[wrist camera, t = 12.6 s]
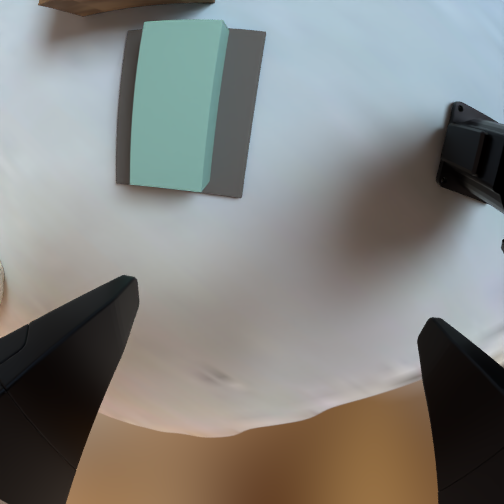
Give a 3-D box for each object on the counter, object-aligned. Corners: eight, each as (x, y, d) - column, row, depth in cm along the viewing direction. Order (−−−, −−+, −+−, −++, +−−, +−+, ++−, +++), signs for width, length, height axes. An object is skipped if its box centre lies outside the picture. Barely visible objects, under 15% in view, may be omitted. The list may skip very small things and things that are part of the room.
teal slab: (229, 30, 14) (222, 20, 12) (209, 181, 19) (201, 192, 17) (159, 30, 14) (144, 21, 12) (145, 174, 19) (130, 184, 17)
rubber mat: (266, 33, 14) (265, 32, 14) (241, 196, 20) (241, 198, 19) (130, 31, 14) (128, 30, 14) (118, 181, 19) (116, 183, 19)
